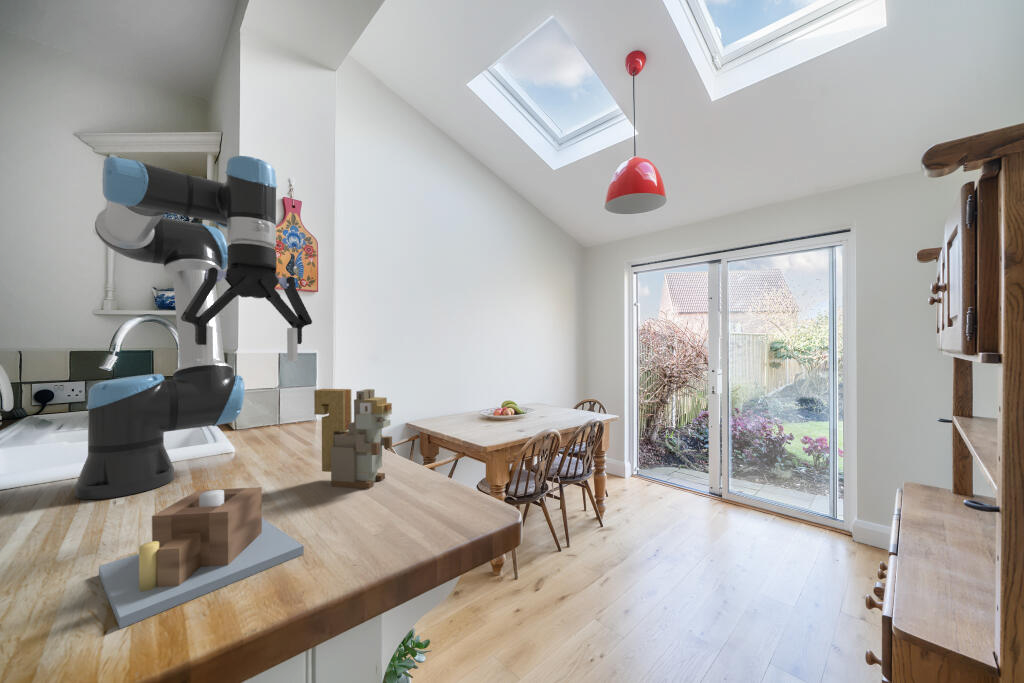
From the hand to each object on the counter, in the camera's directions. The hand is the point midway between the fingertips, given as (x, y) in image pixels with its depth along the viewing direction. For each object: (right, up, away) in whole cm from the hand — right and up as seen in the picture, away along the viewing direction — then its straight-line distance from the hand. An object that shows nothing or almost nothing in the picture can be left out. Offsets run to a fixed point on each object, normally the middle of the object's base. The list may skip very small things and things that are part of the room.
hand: (253, 363), depth 73 cm
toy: (+13, -27, +14) cm, 33 cm away
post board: (+5, -27, -18) cm, 33 cm away
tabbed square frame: (+5, -26, -19) cm, 32 cm away
